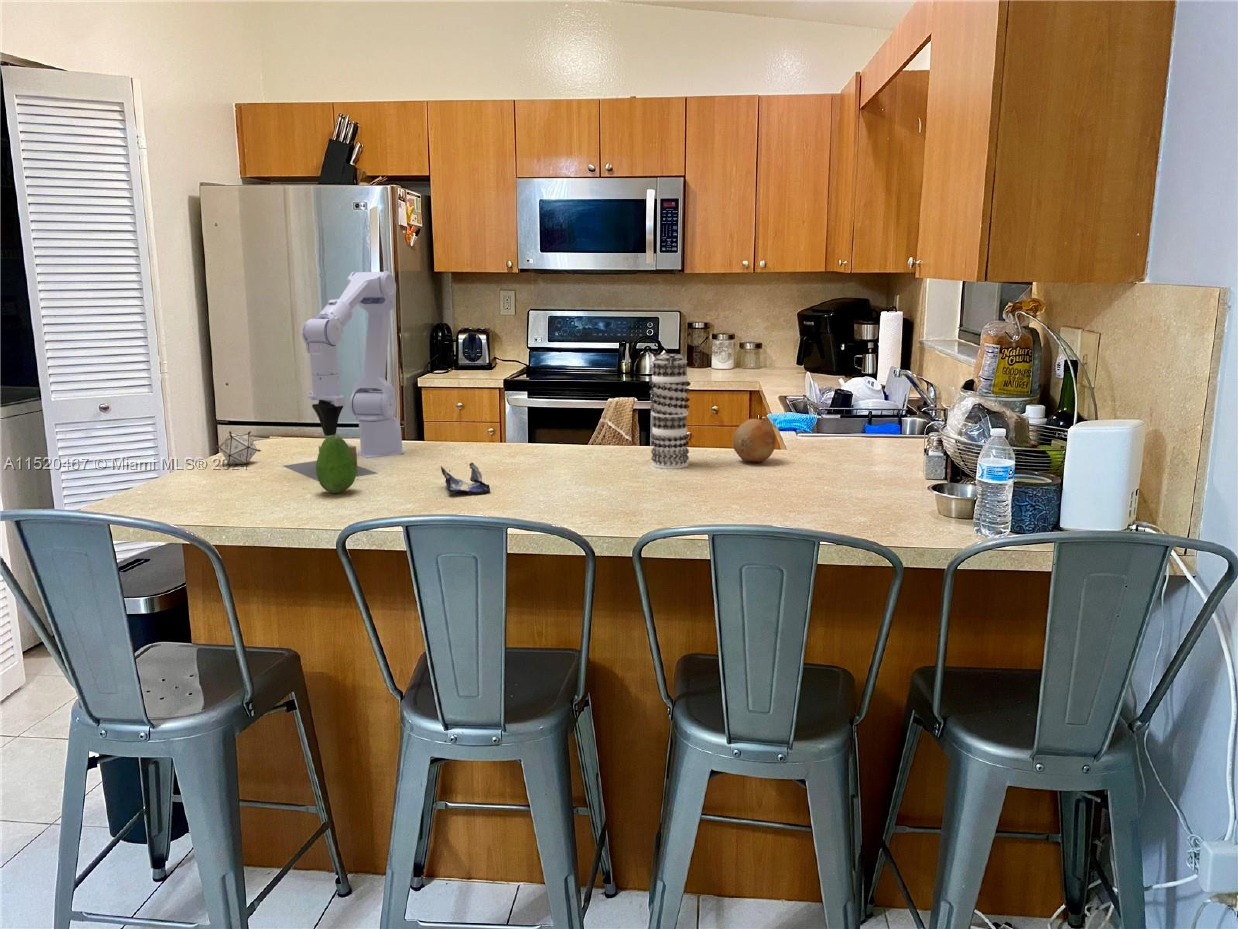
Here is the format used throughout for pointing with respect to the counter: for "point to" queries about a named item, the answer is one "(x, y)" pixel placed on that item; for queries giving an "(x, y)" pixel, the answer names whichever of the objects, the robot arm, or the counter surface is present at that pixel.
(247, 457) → the game die
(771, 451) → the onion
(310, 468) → the mat
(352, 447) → the letter cube
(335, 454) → the avocado
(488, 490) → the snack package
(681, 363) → the decorative candle
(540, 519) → the counter surface
